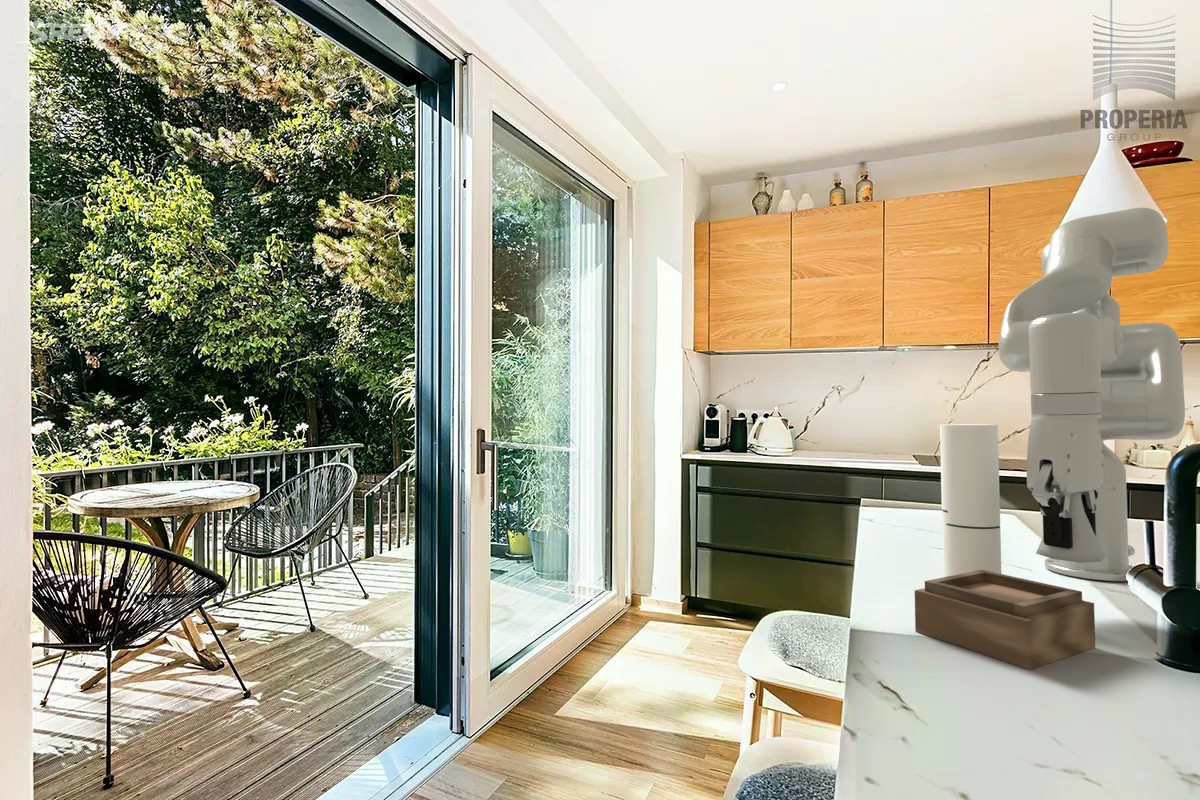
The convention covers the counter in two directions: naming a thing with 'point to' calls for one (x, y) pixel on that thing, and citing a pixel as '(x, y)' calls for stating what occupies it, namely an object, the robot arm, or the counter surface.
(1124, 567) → the robot arm
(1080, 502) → the flask
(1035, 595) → the tray
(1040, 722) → the counter surface
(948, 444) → the cylindrical container
